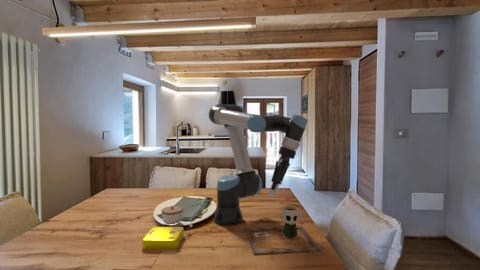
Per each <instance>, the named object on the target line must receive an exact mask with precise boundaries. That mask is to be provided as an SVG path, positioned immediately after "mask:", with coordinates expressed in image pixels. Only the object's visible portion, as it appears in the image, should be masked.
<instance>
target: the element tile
mask: <svg viewBox="0 0 480 270" xmlns="http://www.w3.org/2000/svg"><path fill="white" fill-rule="evenodd" d="M184 237H185V228H184V227H183V226H153V227H152V228H151V229H150V230H149V231H148V232H147V233H146V234H145V236H144V237H143V238H142V239H141V240H142V241H141V242H142V243H141V244H142V246H141V247H142V250H146V251H147V250H148V251H150V250H153V251H154V250H156V251H158V250H161V251H165V250H166V251H173V250H177V249H179V246H180V244H181V243H182V241H183V239H184Z"/></svg>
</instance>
